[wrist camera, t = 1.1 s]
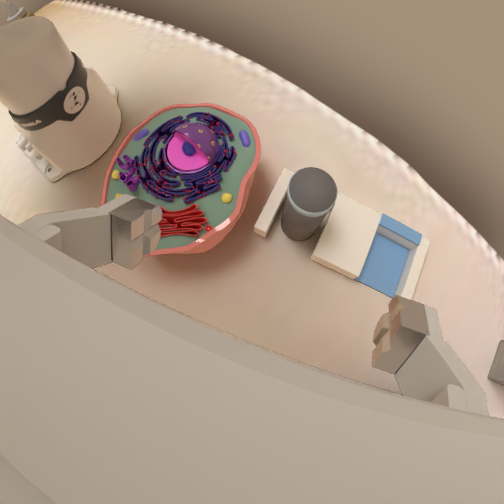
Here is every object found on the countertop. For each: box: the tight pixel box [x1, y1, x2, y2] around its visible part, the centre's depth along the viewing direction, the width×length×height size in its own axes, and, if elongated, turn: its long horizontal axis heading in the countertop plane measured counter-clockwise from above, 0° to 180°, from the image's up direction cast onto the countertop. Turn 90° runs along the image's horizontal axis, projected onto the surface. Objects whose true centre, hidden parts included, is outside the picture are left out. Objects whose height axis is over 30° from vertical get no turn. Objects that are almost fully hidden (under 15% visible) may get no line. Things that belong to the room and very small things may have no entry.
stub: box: [281, 167, 337, 241], centre depth 34 cm, size 5×5×11 cm
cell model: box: [100, 103, 261, 256], centre depth 35 cm, size 17×20×11 cm
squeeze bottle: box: [6, 2, 35, 24], centre depth 41 cm, size 8×8×18 cm
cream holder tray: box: [254, 168, 430, 300], centre depth 37 cm, size 21×8×3 cm, turn 64°
